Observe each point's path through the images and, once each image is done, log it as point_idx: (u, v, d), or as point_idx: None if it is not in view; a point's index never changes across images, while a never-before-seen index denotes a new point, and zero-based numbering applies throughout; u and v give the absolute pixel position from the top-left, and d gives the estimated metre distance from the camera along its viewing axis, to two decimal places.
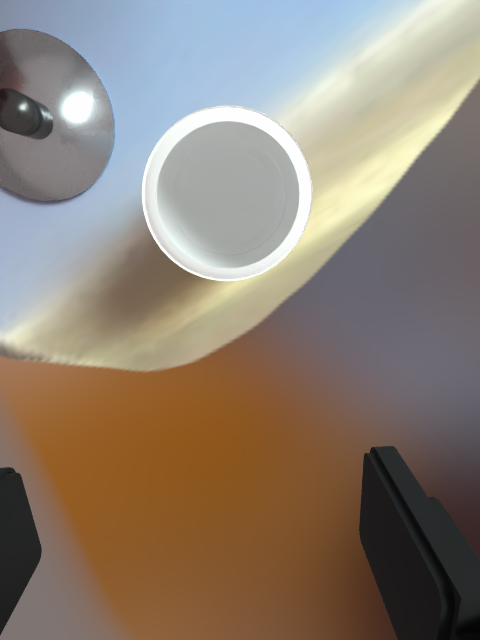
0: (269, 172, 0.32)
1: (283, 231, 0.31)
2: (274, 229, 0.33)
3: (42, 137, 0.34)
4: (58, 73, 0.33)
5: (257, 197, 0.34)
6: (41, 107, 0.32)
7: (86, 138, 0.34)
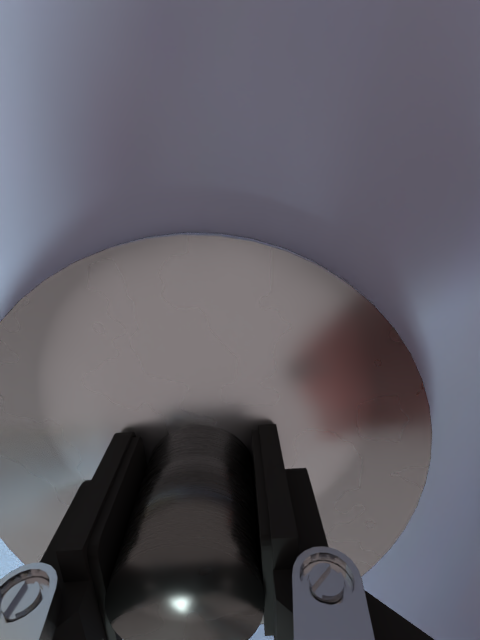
0: None
1: None
2: None
3: (149, 459, 0.11)
4: None
5: None
6: None
7: None
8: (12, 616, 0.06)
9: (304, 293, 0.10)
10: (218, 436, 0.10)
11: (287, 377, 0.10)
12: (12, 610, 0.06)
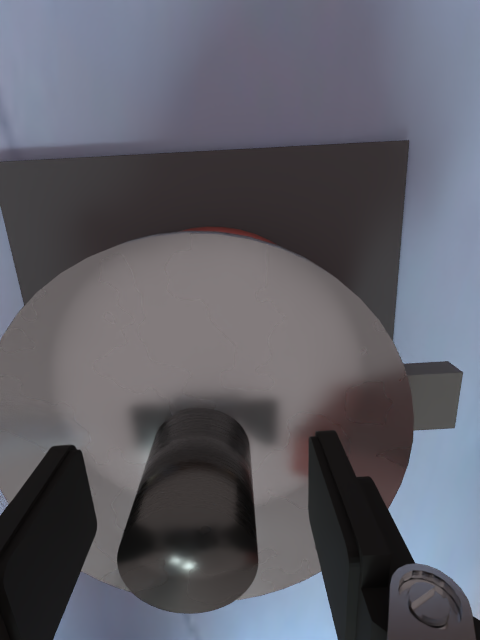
0: None
1: None
2: None
3: (154, 439, 0.12)
4: None
5: None
6: None
7: None
8: None
9: (297, 287, 0.11)
10: (217, 418, 0.11)
11: (281, 364, 0.11)
12: None
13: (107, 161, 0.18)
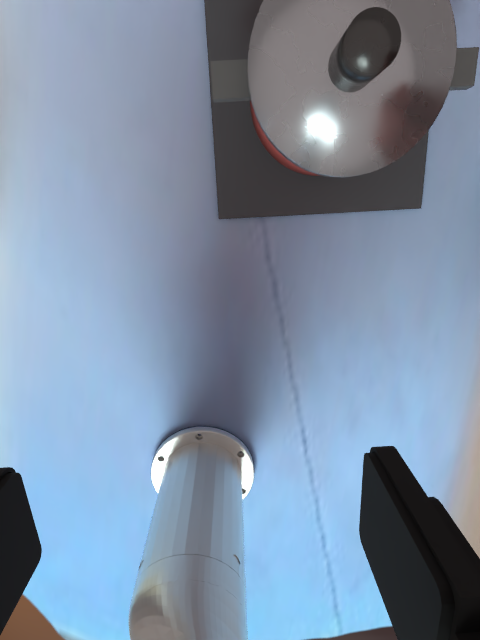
0: None
1: None
2: None
3: (332, 50, 0.24)
4: (352, 139, 0.26)
5: None
6: (348, 83, 0.24)
7: (286, 95, 0.25)
8: None
9: None
10: None
11: (395, 10, 0.24)
12: None
13: None
